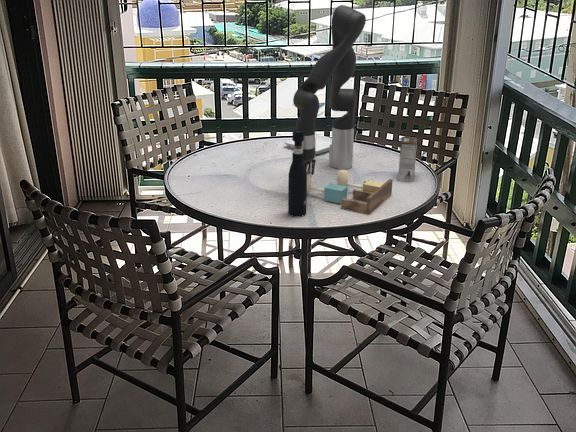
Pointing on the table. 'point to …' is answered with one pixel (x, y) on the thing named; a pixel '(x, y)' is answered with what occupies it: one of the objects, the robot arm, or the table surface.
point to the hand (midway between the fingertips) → (304, 188)
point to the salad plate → (320, 146)
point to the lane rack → (368, 199)
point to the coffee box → (407, 158)
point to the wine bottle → (297, 178)
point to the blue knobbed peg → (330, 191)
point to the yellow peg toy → (367, 186)
